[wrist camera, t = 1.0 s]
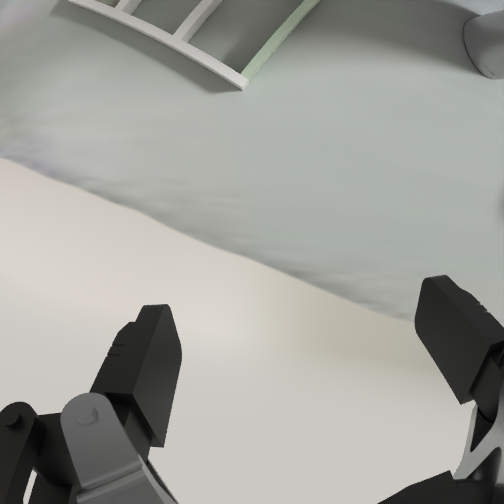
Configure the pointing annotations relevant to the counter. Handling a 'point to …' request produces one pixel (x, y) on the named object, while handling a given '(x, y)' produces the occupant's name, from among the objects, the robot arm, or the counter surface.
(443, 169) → the counter surface
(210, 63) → the divider frame
